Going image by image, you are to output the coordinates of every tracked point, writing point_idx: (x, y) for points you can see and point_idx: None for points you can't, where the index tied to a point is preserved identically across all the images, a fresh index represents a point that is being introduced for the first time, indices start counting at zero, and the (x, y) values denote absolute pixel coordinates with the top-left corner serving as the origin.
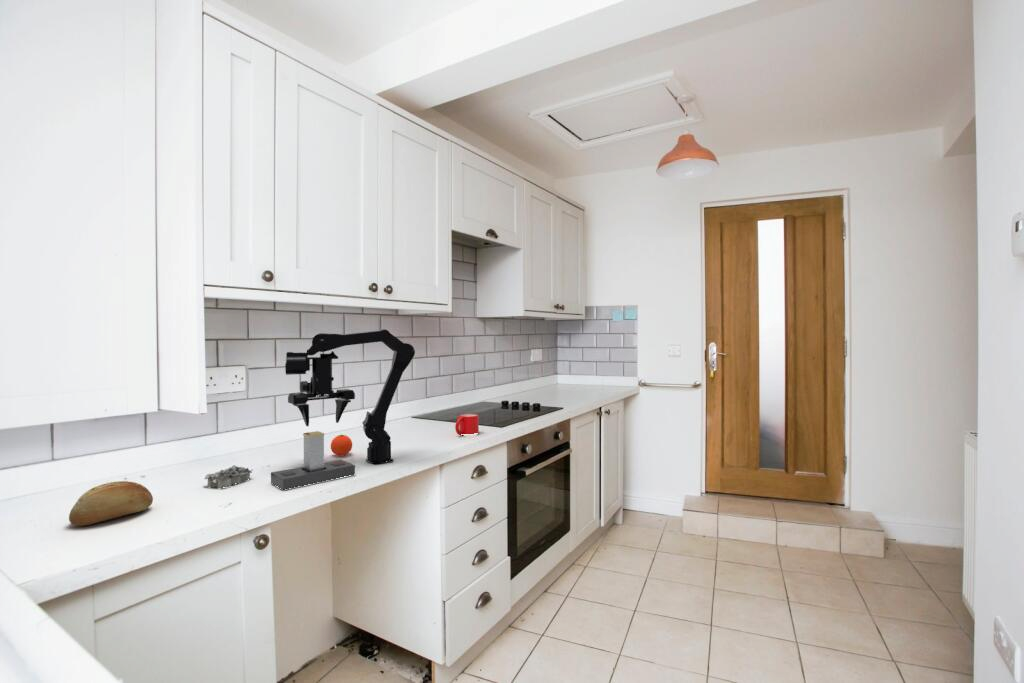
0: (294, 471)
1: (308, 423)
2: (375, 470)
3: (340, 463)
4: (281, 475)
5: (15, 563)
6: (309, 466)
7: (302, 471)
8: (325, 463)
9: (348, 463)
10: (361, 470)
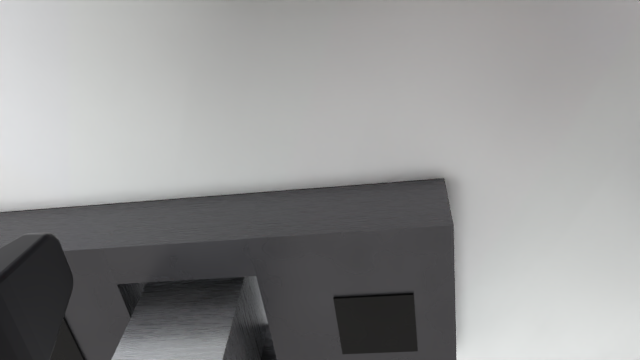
0: (77, 319)
1: (48, 340)
2: (608, 324)
3: (395, 328)
4: None
5: None
6: None
7: None
8: (307, 262)
9: (444, 347)
10: (542, 277)
